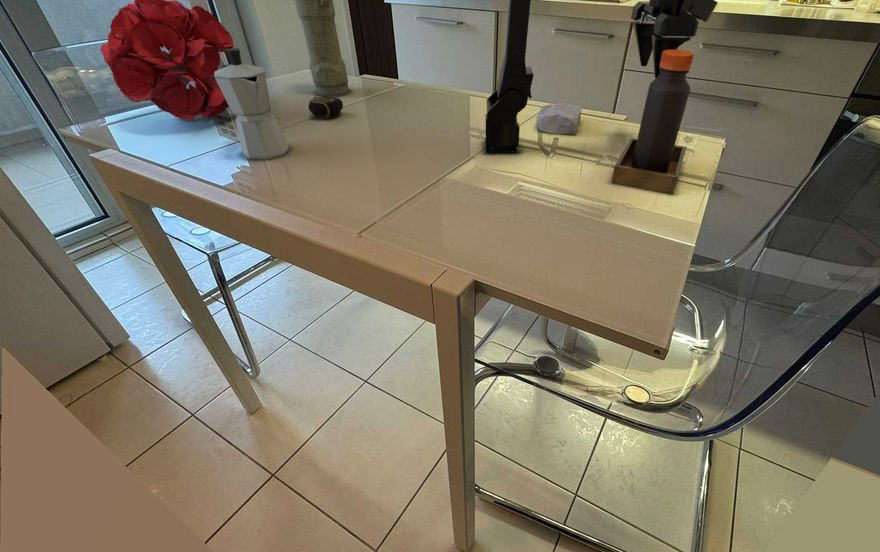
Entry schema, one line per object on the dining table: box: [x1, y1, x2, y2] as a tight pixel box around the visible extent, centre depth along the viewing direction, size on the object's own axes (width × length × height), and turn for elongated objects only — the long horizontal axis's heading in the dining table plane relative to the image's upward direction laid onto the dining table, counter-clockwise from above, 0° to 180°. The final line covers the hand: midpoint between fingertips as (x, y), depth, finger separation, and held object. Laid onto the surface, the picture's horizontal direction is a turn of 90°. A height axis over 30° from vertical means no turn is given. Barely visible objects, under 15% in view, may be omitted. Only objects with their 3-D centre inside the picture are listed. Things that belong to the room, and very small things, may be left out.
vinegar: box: [631, 49, 695, 174], centre depth 78 cm, size 7×7×20 cm
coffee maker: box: [214, 47, 290, 161], centre depth 83 cm, size 15×9×18 cm, turn 47°
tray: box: [611, 137, 687, 195], centre depth 84 cm, size 11×15×3 cm
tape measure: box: [308, 96, 344, 119], centre depth 104 cm, size 7×7×4 cm
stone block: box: [536, 102, 583, 135], centre depth 103 cm, size 12×5×10 cm
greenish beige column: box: [294, 0, 350, 98], centre depth 109 cm, size 9×12×35 cm
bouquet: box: [99, 0, 235, 122], centre depth 99 cm, size 22×24×30 cm
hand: (650, 71), depth 84 cm, fingers open, 9 cm apart
